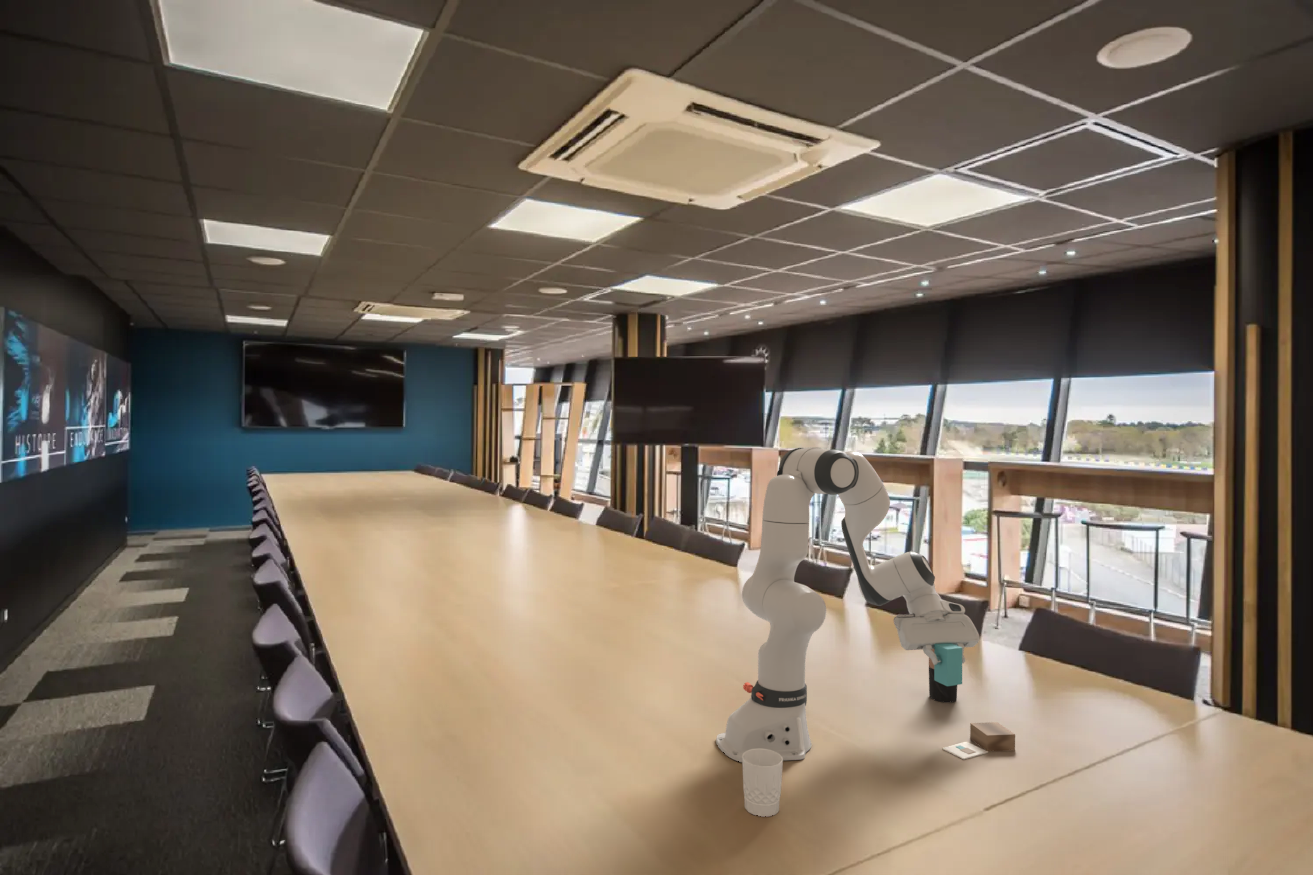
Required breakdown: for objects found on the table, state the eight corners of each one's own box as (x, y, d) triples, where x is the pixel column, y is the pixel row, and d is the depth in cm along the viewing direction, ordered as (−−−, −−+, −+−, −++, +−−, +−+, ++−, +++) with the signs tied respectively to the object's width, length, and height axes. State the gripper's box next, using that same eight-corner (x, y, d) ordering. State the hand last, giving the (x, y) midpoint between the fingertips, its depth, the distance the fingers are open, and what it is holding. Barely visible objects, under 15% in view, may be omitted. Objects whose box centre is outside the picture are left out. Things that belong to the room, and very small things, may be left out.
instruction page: (963, 759, 159) (963, 757, 159) (942, 749, 165) (942, 747, 165) (987, 752, 163) (987, 751, 163) (965, 742, 168) (965, 740, 168)
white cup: (777, 797, 142) (778, 748, 142) (786, 818, 134) (786, 766, 134) (738, 797, 142) (739, 748, 142) (745, 819, 134) (745, 766, 134)
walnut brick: (987, 752, 164) (987, 735, 164) (970, 739, 171) (970, 723, 171) (1014, 751, 165) (1015, 734, 165) (997, 738, 172) (997, 722, 172)
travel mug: (940, 704, 193) (940, 631, 193) (922, 694, 200) (923, 624, 200) (963, 701, 195) (964, 629, 195) (945, 691, 202) (946, 622, 202)
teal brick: (947, 686, 171) (947, 649, 171) (934, 680, 175) (934, 644, 175) (962, 684, 172) (962, 647, 172) (949, 678, 176) (949, 642, 176)
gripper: (895, 608, 178) (915, 658, 169) (969, 605, 182) (992, 654, 172) (886, 621, 183) (906, 671, 173) (958, 618, 186) (981, 667, 177)
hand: (949, 663), depth 173 cm, fingers closed on teal brick, 5 cm apart
